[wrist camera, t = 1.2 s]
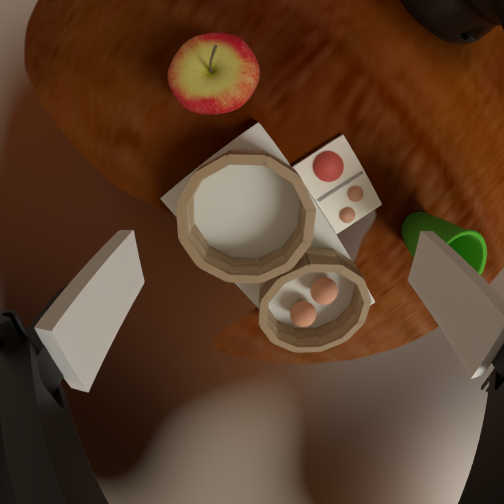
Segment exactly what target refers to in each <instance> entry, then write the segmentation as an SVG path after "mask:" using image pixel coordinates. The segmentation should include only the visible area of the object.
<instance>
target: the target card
mask: <svg viewBox="0 0 504 504" xmlns="http://www.w3.org/2000/svg"><path fill="white" fill-rule="evenodd" d="M293 168H294V169H295V170H296V171H297V173H298V174H299V175H300V177H301V178H302V181H303V183H304V185H305V186H306V188H307V189H308V191H309V192H310V194H311V195H312V197H313V198H314V200H315V201H316V203H317V204H318V206H319V207H320V209H321V211H322V212H323V214H324V215H325V217H326V218H327V220H328V221H329V223H330V225H331V226H332V228H333V229H334V231H335V232H336V234H337V233H339V232H341V231H342V230H344V229H345V228H347V227H348V226H350V225H351V224H353V223H354V222H356V221H358V220H359V219H361V218H362V217H364V216H365V215H367V214H368V213H370V212H371V211H373V210H374V209H376V208H377V207H379V206H380V205H382V204H381V202H380V200H379V198H378V196H377V194H376V192H375V190H374V188H373V186H372V184H371V182H370V180H369V178H368V177H367V175H366V173H365V171H364V169H363V167H362V166H361V164H360V162H359V160H358V159H357V157H356V155H355V153H354V152H353V150H352V148H351V147H350V145H349V143H348V142H347V140H346V138H345V137H344V135H340V136H339V137H337V138H336V139H334V140H333V141H331V142H329V143H328V144H326V145H325V146H323V147H322V148H320V149H318V150H317V151H315V152H314V153H312V154H311V155H309V156H308V157H306V158H305V159H303V160H302V161H300V162H299V163H297V164H296V165H294V166H293Z"/></svg>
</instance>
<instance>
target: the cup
mask: <svg viewBox="0 0 504 504" xmlns="http://www.w3.org/2000/svg"><path fill="white" fill-rule="evenodd" d="M421 231H433V232H434V233H435V234H436V235H438V236H439V237H440V238H441V239H442V240H443V241H445V242H446V243H447V244H448V245H449V246H450V247H451V248H452V249H453V250H455V251H456V252H457V253H458V254H459V255H460V256H461V257H462V258H463V259H464V260H465V261H466V262H467V263H468V264H469V265H470V266H471V267H473V268H474V269H475V270H476V271H477V272H478V273H479V274H480V275H481V273H482V271H483V269H484V266H485V262H486V256H487V249H486V244H485V241H484V238H483V237H482V236H481V234H480V233H478V232H477V231H475V230H470V229H468V230H466V229H464V228H461V227H459V226H457V225H454V224H452V223H450V222H447V221H445V220H443V219H440V218H438V217H435V216H433V215H430V214H428V213H425V212H421V211H420V212H414V213H412V214H411V215H409V216H408V217H407V218H406V219H405V221H404V223H403V226H402V230H401V232H402V239H403V241H404V243H405V244H406V246H407V248H408V250H409V251H410V253H411V255H412V256H413V258H414V256H415V252H416V248H417V244H418V240H419V236H420V232H421Z"/></svg>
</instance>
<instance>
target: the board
mask: <svg viewBox="0 0 504 504" xmlns="http://www.w3.org/2000/svg"><path fill="white" fill-rule="evenodd" d="M228 150H265V152H266V151H267V152H269V153H271V154H272V155H274V156H276V157H277V158H279V159H280V160H282V161H283V162H285V163H287V164H288V165H290V164H289V163H288V161H287V160H286V159H285V157H284V156H283V154H282V153H281V152H280V150H279V149H278V147H277V146H276V145H275V143H274V142H273V141H272V139H271V138H270V137H269V135H268V134H267V133H266V131H265V130H264V129H263V127H262V126H261V125H260V123H259V122H258V123H257V124H255V125H254V126H252V127H251V128H249V129H248V130H247V131H245V132H244V133H242V134H241V135H240V136H238V137H237V138H235V139H234V140H233V141H231V142H230V143H229V144H227V145H226V146H225V147H223V148H222V149H221V150H219V151H218V152H217V153H215V154H214V155H213V156H211V157H210V158H209V159H208V160H206V161H205V162H204V163H202V164H201V165H200V166H199V167H197V168H196V169H195V170H194V171H192V172H191V173H190V174H189V175H187V176H186V177H185V178H184V179H183V180H181V181H180V182H179V183H178V184H177V185H175V186H174V187H173V188H172V189H171V190H169V191H168V192H167V193H166V194H165V195H164V196H163V197H162V198H161V200H162V201H163V202H164V203H165V205H166V206H167V207H168V208H169V209H170V210H171V212H172V213H173V214H174V215H175V216H176V217H177V213H176V206H177V203H178V201H179V199H180V197H181V195H182V193H183V191H184V189H185V188H186V186H187V184H188V182H189V180H190V178H191V176H192V175H193V174H194V173H195V172H196V171H197V170H198V169H199V168H200V167H201V166H202V165H204V164H205V163H207V162H209V161H211V160H212V159H214V158H216V157H218V156H219V155H221V154H223V153H225V152H227V151H228ZM307 191H308V190H307ZM308 193H309V192H308ZM309 195H310V193H309ZM310 197H311V199H312V201H313V204H314V206H315V208H316V216H315V224H314V232H313V240H312V243H311V245H310V247H309V248H328V249H335V250H336V251H338V252H339V253H341V254H342V255H344V256H345V257H347V258H348V259H350V257H349V255H348V254H347V252H346V250H345V249H344V247H343V245H342V244H341V242H340V240H339V239H338V237H337V235H336V234H335V232H334V231H333V229H332V227H331V226H330V224H329V223H328V221H327V219H326V218H325V216H324V215H323V213H322V212H321V210H320V209H319V207H318V205H317V204H316V202H315V201H314V199H313V198H312V196H311V195H310ZM299 208H300V198H299V196H298V194H297V192H296V190H295V188H294V186H293V184H292V183H291V182H289V181H288V180H286V179H285V178H283V177H282V176H280V175H278V174H277V173H275V172H274V171H272V170H270V169H269V168H267V167H265V166H259V165H228V166H226V167H225V168H223V169H221V170H219V171H217V172H216V173H214V174H212V175H210V176H209V177H207V178H205V179H203V181H202V183H201V184H200V186H199V188H198V190H197V192H196V193H195V195H194V219H195V224H196V226H197V227H198V229H199V231H200V232H201V234H202V235H203V237H204V238H205V240H206V241H207V243H208V244H209V245H210V246H212V247H214V248H215V249H217V250H219V251H221V252H223V253H225V254H227V255H228V256H230V257H232V258H260V257H262V256H264V255H267V254H269V253H271V252H273V251H275V250H277V249H279V248H282V247H283V246H284V244H285V243H286V241H287V240H288V239H289V237H290V236H291V235H292V233H293V232H294V231H295V229H296V228H297V226H298V218H299ZM350 260H351V259H350ZM321 277H328V278H330V279H332V280H333V281H334V282H335V283H336V285H337V288H338V293H337V296H336V298H335V299H334V301H333V302H331V303H329V304H326V305H322V304H318V303H317V302H315V301H314V300H313V298H312V296H311V293H310V289H311V286H312V284H313V282H314V281H315V280H316V279H318V278H321ZM235 284H236V285H237V286H238V287H239V288H240V289H241V290H242V291H243V292H244V294H245V295H246V296H247V297H248V298H249V299H250V300H251V301H252V302H253V303H254V304H255V305H256V306H257V308H258V309H259V287H260V283H235ZM354 288H355V284H354V282H353V281H351V280H349V279H348V278H346V277H345V276H343V275H341V274H340V273H337V272H310V273H308V274H305V275H303V276H301V277H299V278H296V279H294V280H292V281H290V282H288V283H285V284H284V285H283V286H282V288H281V289H280V290H279V291H278V293H277V294H276V295H275V296H274V297H273V299H272V300H271V301H270V302H269V306H268V308H269V309H270V311H271V312H272V314H273V315H274V317H275V318H276V320H278V321H280V322H283V323H285V324H287V325H289V326H291V327H293V328H316V327H319V326H321V325H323V324H326V323H328V322H330V321H333V320H335V319H336V318H337V317H338V316H339V315H340V314H341V313H342V312H343V311H344V310H345V309H346V308H347V307H348V306H349V305H350V303H351V299H352V295H353V291H354ZM367 289H368V288H367ZM368 292H369V290H368ZM369 295H370V298H371V304H373V303H375V301H374V299H373V297H372V296H371V294H370V292H369ZM300 301H307V302H309V303H311V304H312V305H313V306H314V307H315V309H316V318H315V321H314V322H313V323H312V324H311V325H309V326H307V327H299V326H297V325H295V324H294V323H293V322H292V320H291V318H290V311H291V308H292V307H293V306H294V305H295V304H296V303H297V302H300ZM371 304H370V305H371Z"/></svg>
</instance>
